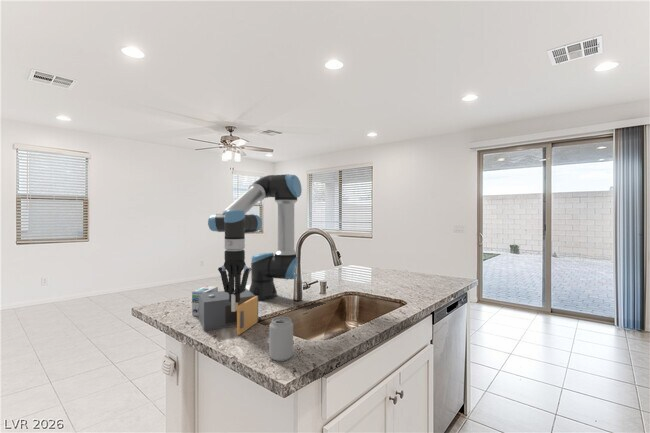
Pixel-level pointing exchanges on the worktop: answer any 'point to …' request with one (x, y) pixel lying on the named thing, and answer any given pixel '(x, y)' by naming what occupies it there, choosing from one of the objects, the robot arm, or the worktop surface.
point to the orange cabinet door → (247, 314)
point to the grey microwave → (219, 309)
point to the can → (281, 338)
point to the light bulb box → (196, 297)
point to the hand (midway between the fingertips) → (234, 310)
